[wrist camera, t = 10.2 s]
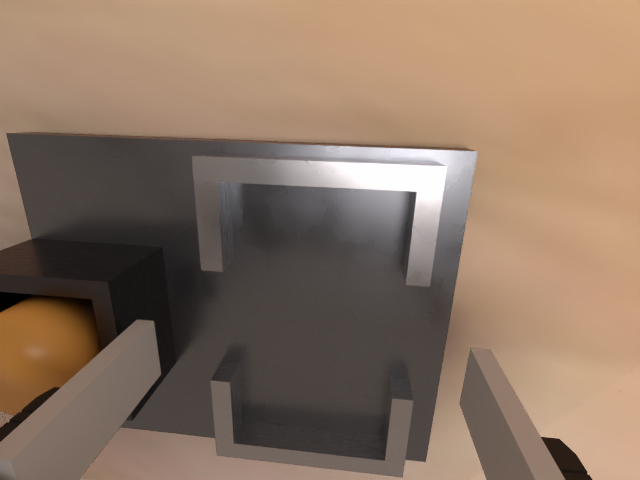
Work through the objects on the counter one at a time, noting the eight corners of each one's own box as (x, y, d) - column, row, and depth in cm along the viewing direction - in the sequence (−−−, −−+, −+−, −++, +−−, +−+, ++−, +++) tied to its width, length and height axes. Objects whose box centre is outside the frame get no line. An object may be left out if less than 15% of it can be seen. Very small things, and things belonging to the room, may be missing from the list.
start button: (38, 364, 17) (-24, 412, 15) (16, 283, 16) (-58, 318, 13) (123, 373, 17) (76, 424, 14) (109, 290, 16) (53, 328, 13)
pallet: (93, 403, 23) (17, 485, 18) (34, 132, 18) (-100, 137, 13) (421, 439, 21) (441, 541, 16) (467, 148, 16) (519, 162, 11)
